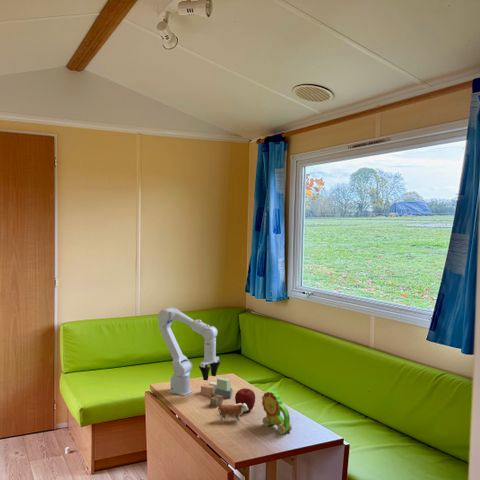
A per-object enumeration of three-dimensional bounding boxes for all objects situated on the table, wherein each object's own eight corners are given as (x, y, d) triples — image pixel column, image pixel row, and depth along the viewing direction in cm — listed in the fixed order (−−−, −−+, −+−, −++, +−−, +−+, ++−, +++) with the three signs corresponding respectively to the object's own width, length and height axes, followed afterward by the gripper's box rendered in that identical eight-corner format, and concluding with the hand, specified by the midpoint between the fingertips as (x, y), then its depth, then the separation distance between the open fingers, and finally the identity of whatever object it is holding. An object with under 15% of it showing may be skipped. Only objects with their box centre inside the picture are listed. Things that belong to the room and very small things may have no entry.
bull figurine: (248, 423, 217) (248, 404, 216) (217, 422, 217) (218, 404, 217) (248, 419, 221) (248, 401, 221) (218, 418, 221) (218, 400, 221)
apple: (235, 414, 226) (236, 393, 225) (234, 406, 235) (234, 386, 235) (256, 414, 227) (256, 392, 226) (253, 406, 236) (254, 385, 236)
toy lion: (292, 432, 208) (293, 396, 207) (282, 435, 205) (283, 399, 204) (267, 420, 221) (268, 386, 220) (258, 422, 217) (259, 388, 217)
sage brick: (216, 388, 249) (216, 378, 249) (220, 386, 252) (220, 377, 252) (226, 391, 246) (226, 381, 246) (230, 389, 249) (230, 379, 249)
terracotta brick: (200, 393, 253) (200, 386, 252) (204, 391, 256) (204, 384, 255) (210, 396, 250) (210, 388, 250) (214, 394, 253) (214, 386, 253)
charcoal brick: (214, 397, 248) (214, 390, 247) (216, 394, 252) (217, 386, 252) (230, 399, 246) (230, 391, 246) (232, 395, 251) (232, 387, 251)
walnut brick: (216, 408, 234) (216, 399, 234) (210, 406, 235) (210, 398, 235) (222, 404, 239) (222, 395, 239) (216, 402, 241) (216, 394, 241)
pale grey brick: (208, 390, 257) (208, 383, 257) (212, 388, 260) (212, 381, 260) (218, 392, 254) (218, 385, 254) (221, 390, 257) (222, 383, 257)
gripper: (209, 355, 239) (208, 383, 240) (224, 349, 252) (223, 375, 253) (196, 353, 243) (196, 380, 243) (212, 347, 255) (212, 373, 256)
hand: (209, 378), depth 248 cm, fingers open, 7 cm apart
